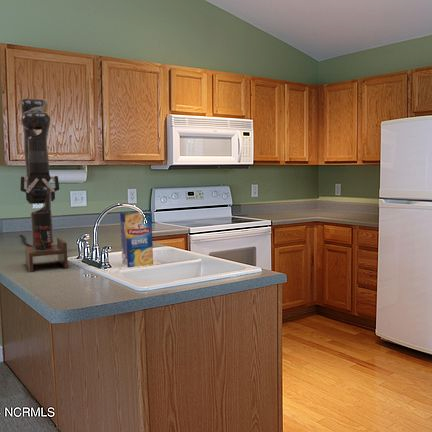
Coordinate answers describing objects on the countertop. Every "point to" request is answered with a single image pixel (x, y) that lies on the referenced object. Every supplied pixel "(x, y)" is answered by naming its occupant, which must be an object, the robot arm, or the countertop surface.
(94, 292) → the countertop surface
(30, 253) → the shelf
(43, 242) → the deodorant
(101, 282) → the countertop surface
